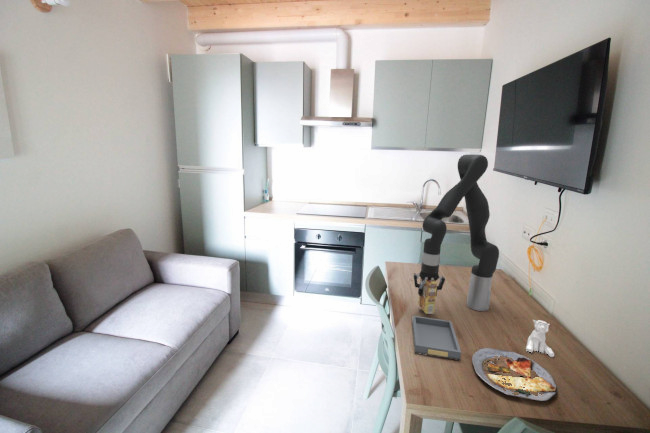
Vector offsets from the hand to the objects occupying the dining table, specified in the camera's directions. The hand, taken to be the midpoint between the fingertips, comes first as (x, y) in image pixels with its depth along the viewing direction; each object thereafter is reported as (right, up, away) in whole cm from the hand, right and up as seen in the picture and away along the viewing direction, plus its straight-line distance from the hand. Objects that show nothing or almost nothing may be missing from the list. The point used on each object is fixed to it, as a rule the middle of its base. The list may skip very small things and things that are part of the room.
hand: (426, 296), depth 141 cm
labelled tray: (-3, -13, -17) cm, 22 cm away
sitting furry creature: (+36, -16, -21) cm, 44 cm away
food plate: (+17, -19, -35) cm, 44 cm away
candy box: (0, -7, +2) cm, 7 cm away
